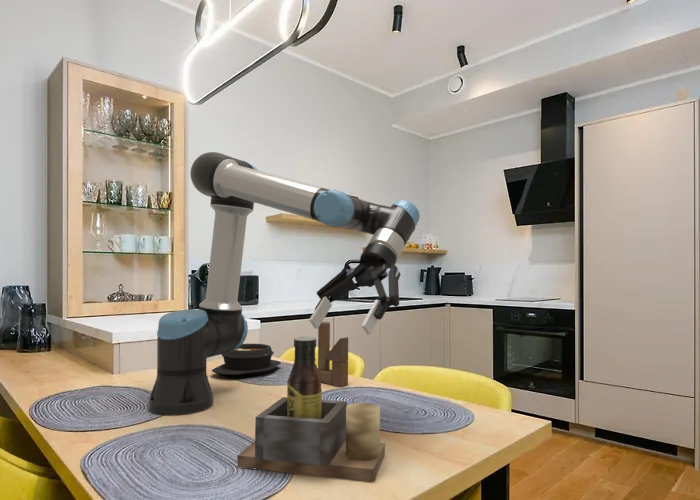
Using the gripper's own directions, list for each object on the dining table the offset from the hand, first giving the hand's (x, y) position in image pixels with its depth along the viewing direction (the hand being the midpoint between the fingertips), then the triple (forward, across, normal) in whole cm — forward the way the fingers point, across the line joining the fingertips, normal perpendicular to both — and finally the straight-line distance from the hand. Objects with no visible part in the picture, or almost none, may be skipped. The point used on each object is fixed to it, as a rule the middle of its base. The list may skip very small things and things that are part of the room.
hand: (338, 327), depth 94 cm
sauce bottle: (+22, 0, -8) cm, 23 cm away
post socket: (+22, -2, -10) cm, 25 cm away
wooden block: (-10, +33, -42) cm, 55 cm away
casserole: (-5, +64, -38) cm, 75 cm away
